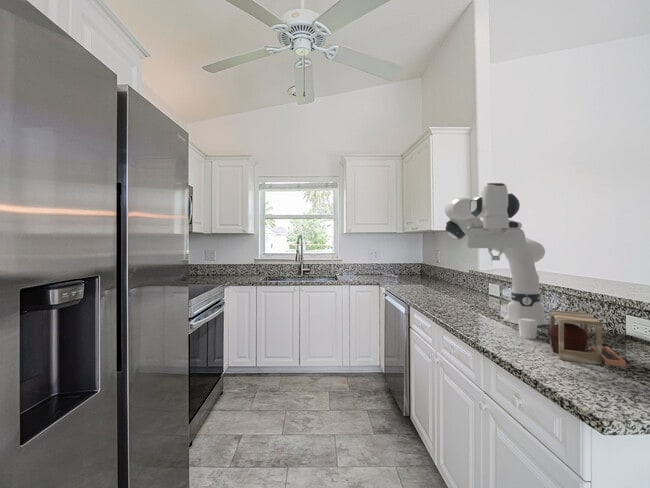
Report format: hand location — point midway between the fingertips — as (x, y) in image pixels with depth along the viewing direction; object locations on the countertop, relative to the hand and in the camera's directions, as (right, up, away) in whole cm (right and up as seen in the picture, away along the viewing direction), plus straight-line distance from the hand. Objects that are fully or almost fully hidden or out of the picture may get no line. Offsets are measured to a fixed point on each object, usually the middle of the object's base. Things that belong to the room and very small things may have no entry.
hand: (495, 260), depth 133 cm
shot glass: (+16, -31, +6) cm, 36 cm away
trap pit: (+27, -31, -20) cm, 46 cm away
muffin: (+17, -31, -15) cm, 39 cm away
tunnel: (+19, -31, -16) cm, 40 cm away
